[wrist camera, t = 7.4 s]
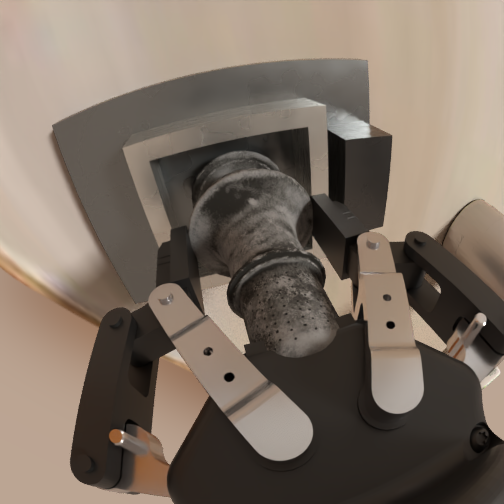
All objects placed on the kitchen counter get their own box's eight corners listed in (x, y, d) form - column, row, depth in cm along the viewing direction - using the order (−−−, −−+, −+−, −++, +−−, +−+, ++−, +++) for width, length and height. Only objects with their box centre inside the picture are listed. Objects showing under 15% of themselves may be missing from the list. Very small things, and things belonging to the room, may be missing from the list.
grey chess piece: (266, 246, 18) (343, 429, 9) (175, 229, 16) (191, 451, 7) (306, 163, 15) (457, 335, 6) (204, 131, 13) (273, 350, 4)
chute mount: (356, 59, 14) (399, 64, 10) (353, 237, 23) (380, 269, 19) (60, 120, 12) (27, 140, 9) (136, 292, 21) (133, 335, 18)
